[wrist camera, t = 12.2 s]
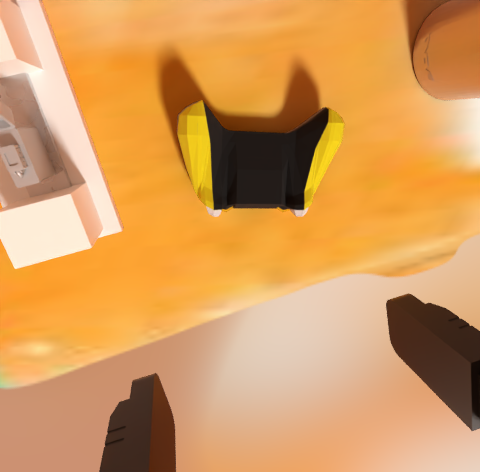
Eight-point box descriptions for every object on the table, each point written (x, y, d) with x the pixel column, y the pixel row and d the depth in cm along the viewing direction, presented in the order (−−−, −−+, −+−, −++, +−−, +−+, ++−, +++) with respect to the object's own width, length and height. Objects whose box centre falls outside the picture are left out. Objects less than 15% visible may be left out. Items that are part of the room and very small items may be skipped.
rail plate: (41, -2, 29) (35, -7, 28) (123, 227, 36) (122, 231, 35) (-76, 22, 29) (-86, 18, 27) (30, 253, 35) (26, 257, 34)
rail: (2, 8, 28) (-2, 5, 28) (91, 234, 34) (90, 236, 34) (-45, 17, 28) (-50, 15, 27) (54, 244, 34) (51, 247, 33)
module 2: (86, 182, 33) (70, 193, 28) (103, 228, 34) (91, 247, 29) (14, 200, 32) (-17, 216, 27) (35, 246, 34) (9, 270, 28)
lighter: (56, 174, 32) (21, 191, 24) (36, 180, 32) (-6, 198, 24) (21, 89, 29) (-29, 77, 22) (-1, 94, 29) (-60, 84, 22)
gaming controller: (176, 101, 34) (176, 207, 37) (177, 97, 29) (178, 221, 31) (328, 110, 37) (318, 207, 39) (355, 107, 31) (340, 220, 34)
